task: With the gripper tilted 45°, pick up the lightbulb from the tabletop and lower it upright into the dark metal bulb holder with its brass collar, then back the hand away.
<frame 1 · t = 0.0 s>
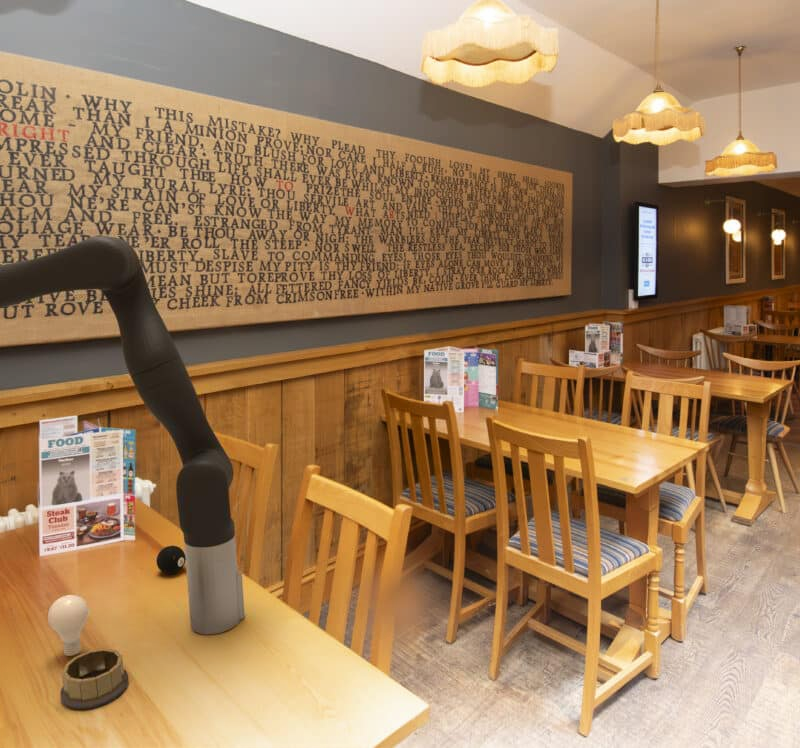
lightbulb: (73, 655, 116), on the table
billiard ball: (172, 573, 147), on the table
bulb holder: (95, 689, 106), on the table
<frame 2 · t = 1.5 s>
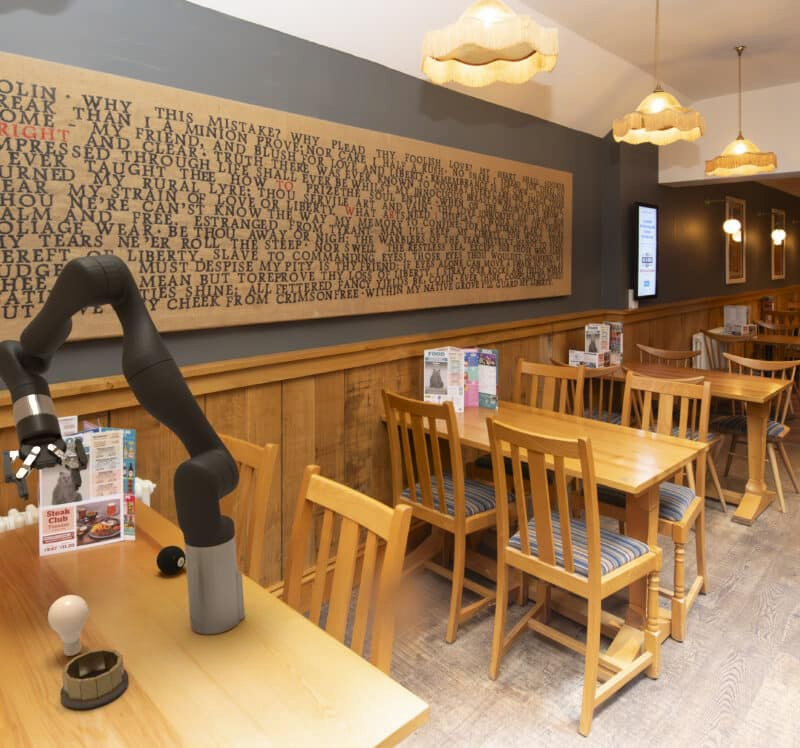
hand: (52, 493, 124), 26 cm above the table, tool tilted 45°, fingers open, 8 cm apart
nothing on the table moved.
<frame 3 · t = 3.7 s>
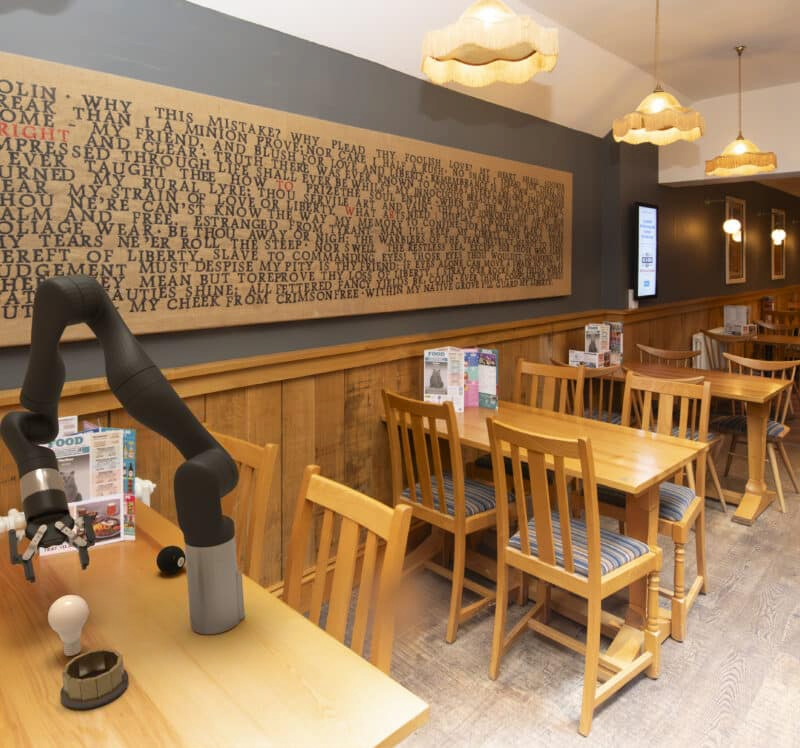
hand: (59, 574, 120), 12 cm above the table, tool tilted 45°, fingers open, 8 cm apart
nothing on the table moved.
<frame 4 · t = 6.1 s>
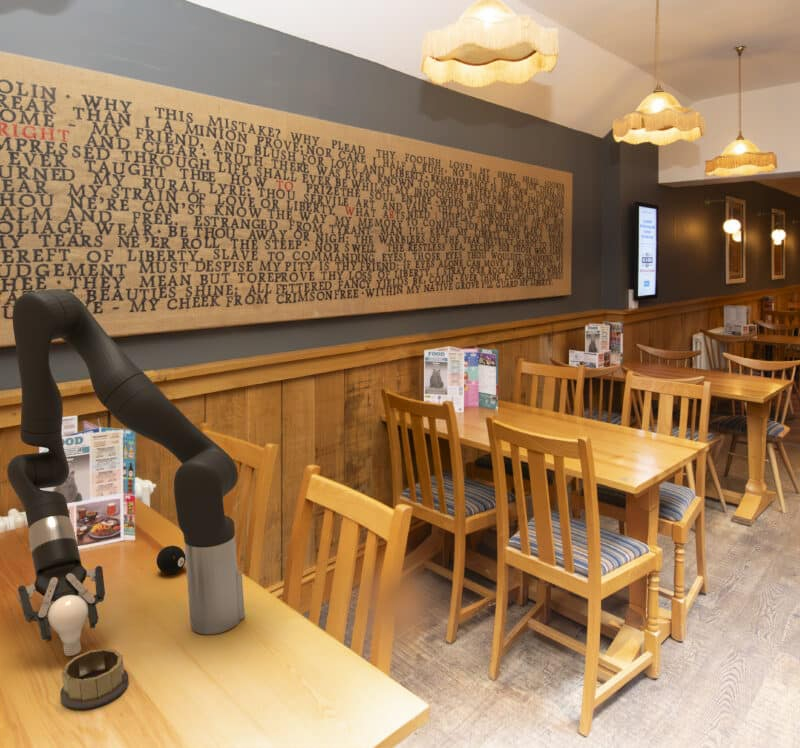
hand: (71, 633, 114), 5 cm above the table, tool tilted 45°, fingers closed on lightbulb, 6 cm apart
lightbulb: (73, 655, 116), on the table, touching gripper
everything else where it was.
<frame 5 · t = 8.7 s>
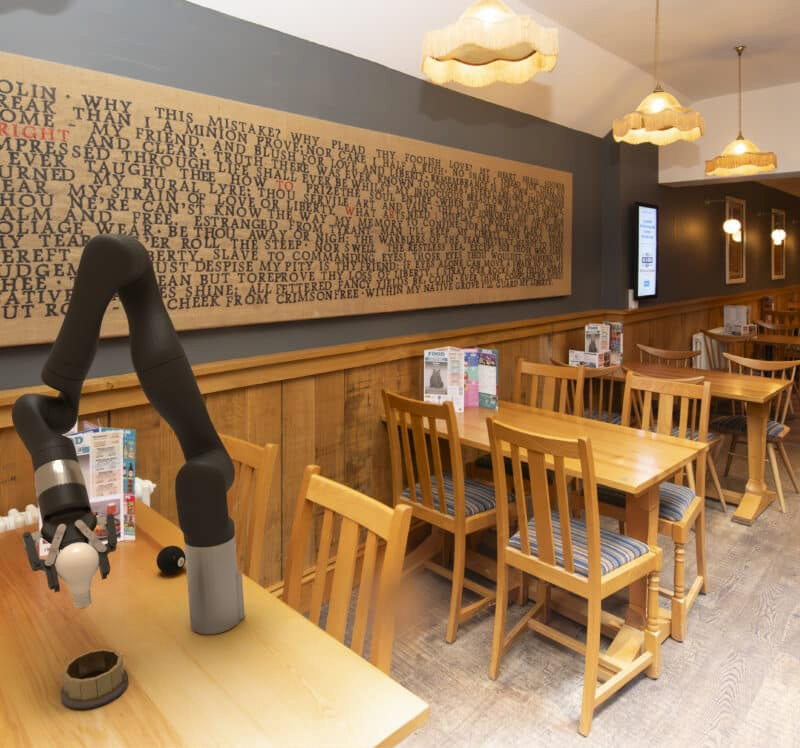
hand: (81, 583, 104), 18 cm above the table, tool tilted 45°, fingers closed on lightbulb, 6 cm apart
lightbulb: (83, 608, 107), point 13 cm above the table, touching gripper
everything else where it was.
when the fingers open (7 cm above the table, at t = 11.3 s): lightbulb drops 1 cm, resting on bulb holder.
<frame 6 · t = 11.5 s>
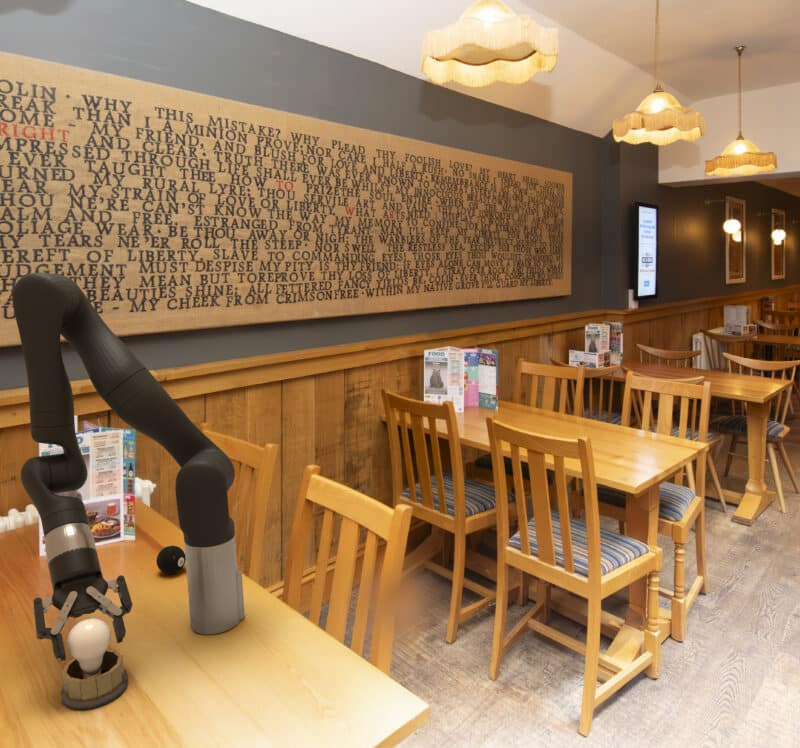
hand: (92, 650, 104), 8 cm above the table, tool tilted 45°, fingers open, 8 cm apart
lightbulb: (93, 684, 106), point 1 cm above the table, touching bulb holder
everything else where it was.
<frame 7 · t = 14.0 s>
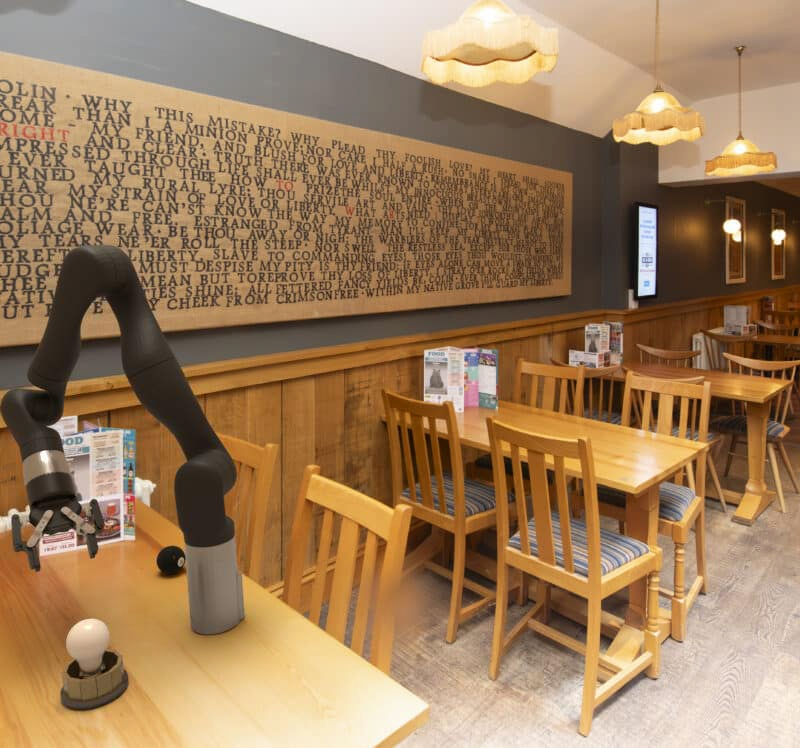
hand: (66, 563, 112), 18 cm above the table, tool tilted 45°, fingers open, 8 cm apart
nothing on the table moved.
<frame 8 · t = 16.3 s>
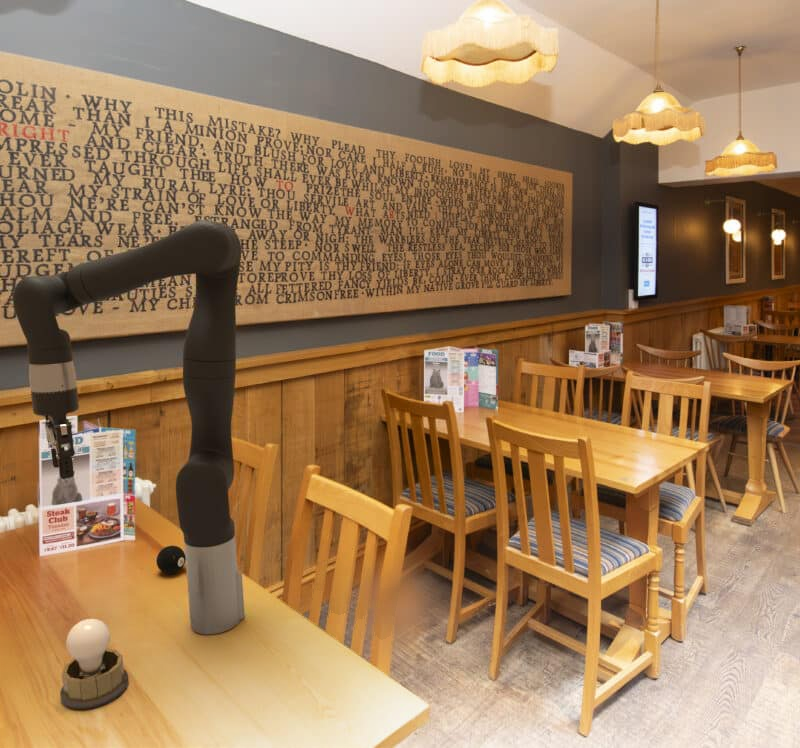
hand: (63, 471, 122), 30 cm above the table, tool pointing down, fingers open, 8 cm apart
nothing on the table moved.
at the end: lightbulb 0.4 cm off-centre on the bulb holder, point 0.8 cm above the bulb holder's base; lightbulb tilted 0°; the gripper is holding nothing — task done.
